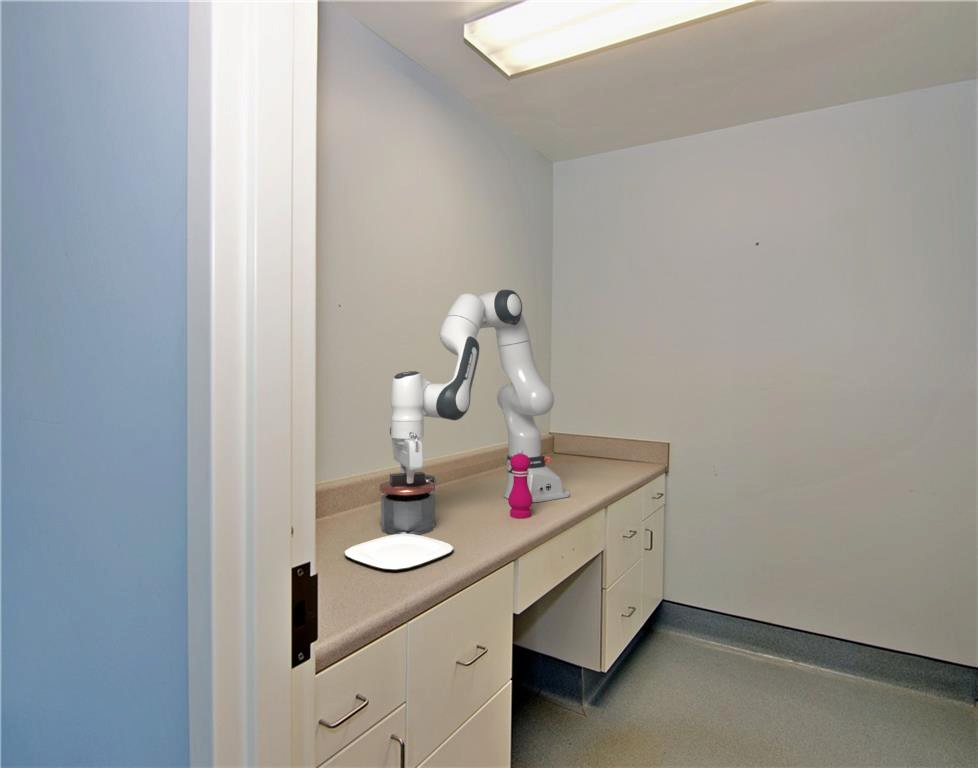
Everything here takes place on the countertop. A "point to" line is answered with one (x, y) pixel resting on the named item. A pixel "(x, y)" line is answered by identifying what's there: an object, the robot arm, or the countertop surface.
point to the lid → (407, 485)
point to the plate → (398, 551)
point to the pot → (408, 513)
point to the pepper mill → (520, 487)
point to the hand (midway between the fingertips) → (407, 481)
